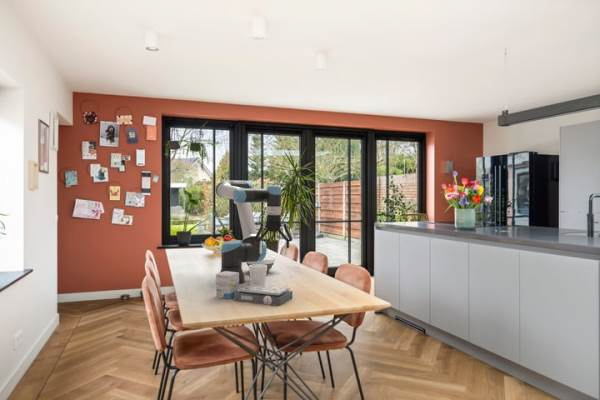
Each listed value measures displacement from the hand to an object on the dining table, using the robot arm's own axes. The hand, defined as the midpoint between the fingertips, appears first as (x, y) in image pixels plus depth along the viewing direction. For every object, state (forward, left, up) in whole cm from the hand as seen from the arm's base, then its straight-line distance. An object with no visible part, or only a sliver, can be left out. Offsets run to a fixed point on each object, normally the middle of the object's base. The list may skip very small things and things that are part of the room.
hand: (273, 253), depth 223 cm
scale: (+5, -22, -19) cm, 29 cm away
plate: (+5, -22, -14) cm, 26 cm away
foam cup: (-6, -7, -19) cm, 21 cm away
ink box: (-14, -24, -19) cm, 33 cm away
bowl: (-28, +38, -19) cm, 51 cm away
